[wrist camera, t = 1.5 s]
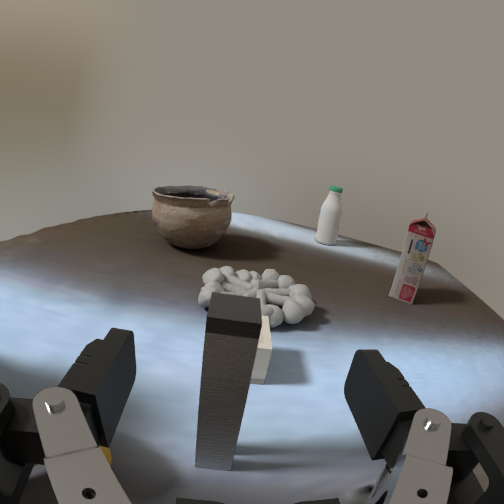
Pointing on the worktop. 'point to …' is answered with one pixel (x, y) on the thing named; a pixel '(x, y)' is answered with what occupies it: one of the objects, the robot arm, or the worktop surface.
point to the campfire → (261, 292)
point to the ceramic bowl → (191, 215)
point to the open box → (262, 353)
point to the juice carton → (413, 260)
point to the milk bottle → (329, 217)
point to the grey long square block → (225, 376)
